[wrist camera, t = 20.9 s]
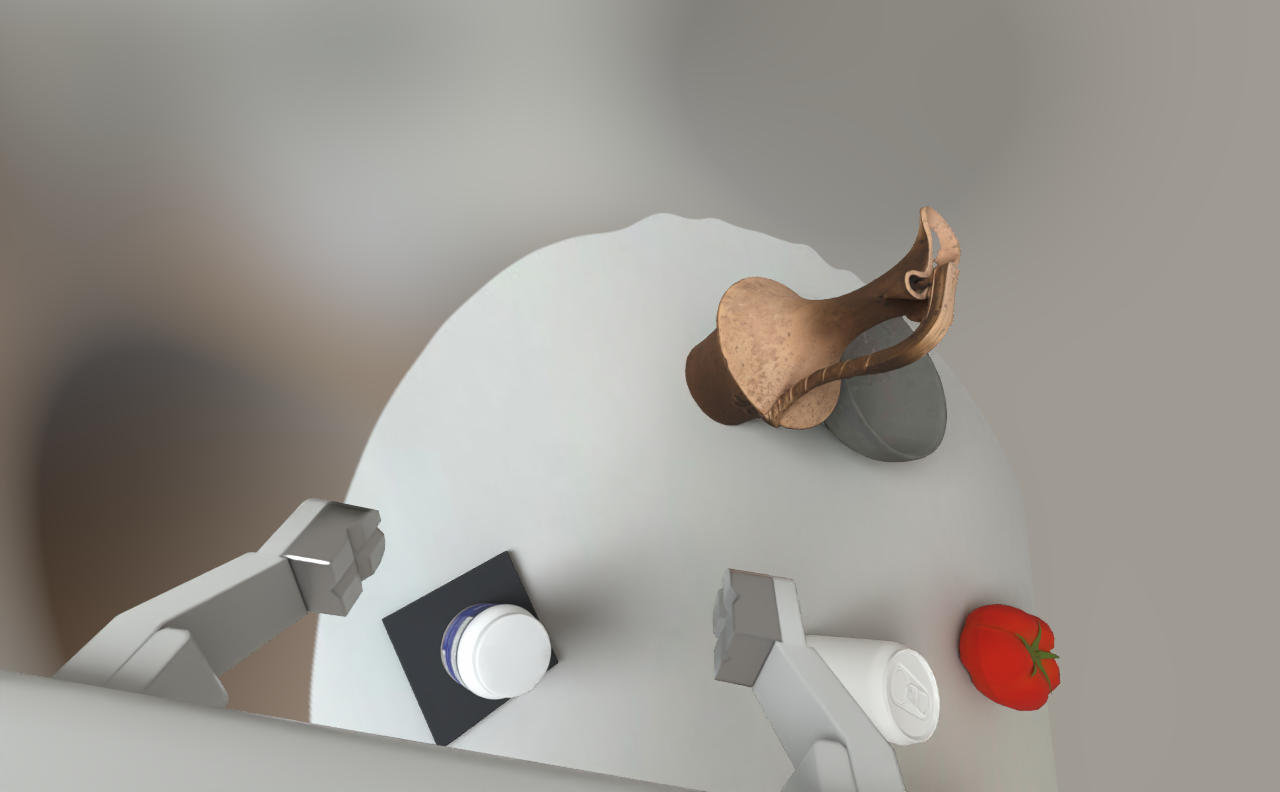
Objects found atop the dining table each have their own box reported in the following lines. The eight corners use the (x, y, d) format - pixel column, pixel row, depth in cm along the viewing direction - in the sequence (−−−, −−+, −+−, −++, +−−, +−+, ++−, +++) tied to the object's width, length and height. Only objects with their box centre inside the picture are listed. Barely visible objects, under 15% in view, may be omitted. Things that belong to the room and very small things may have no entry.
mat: (438, 748, 37) (439, 751, 36) (381, 619, 37) (382, 619, 37) (556, 661, 42) (559, 662, 42) (505, 551, 43) (507, 550, 43)
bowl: (771, 433, 63) (836, 409, 55) (792, 309, 73) (850, 273, 65) (882, 498, 69) (955, 485, 61) (888, 375, 79) (951, 350, 71)
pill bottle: (524, 612, 42) (570, 617, 34) (500, 691, 39) (544, 717, 31) (456, 594, 40) (487, 594, 32) (426, 676, 37) (452, 699, 29)
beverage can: (794, 619, 56) (892, 624, 46) (843, 658, 57) (948, 672, 47) (770, 695, 51) (873, 719, 41) (825, 736, 53) (937, 768, 43)
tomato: (980, 728, 64) (1058, 745, 57) (932, 636, 66) (1003, 641, 59) (1014, 667, 72) (1087, 674, 65) (971, 584, 73) (1038, 583, 66)
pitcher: (764, 479, 60) (1028, 408, 37) (643, 416, 54) (866, 288, 32) (783, 358, 68) (1008, 240, 46) (680, 293, 63) (877, 121, 40)
